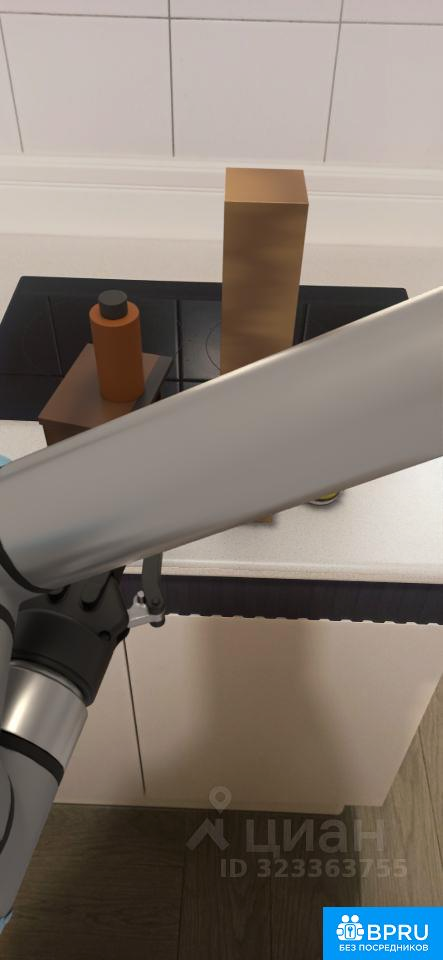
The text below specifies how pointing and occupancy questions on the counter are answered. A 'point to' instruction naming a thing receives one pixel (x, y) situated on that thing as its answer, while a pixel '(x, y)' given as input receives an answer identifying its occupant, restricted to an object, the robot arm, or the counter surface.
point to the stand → (261, 263)
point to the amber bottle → (117, 347)
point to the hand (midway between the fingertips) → (150, 447)
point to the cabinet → (96, 397)
